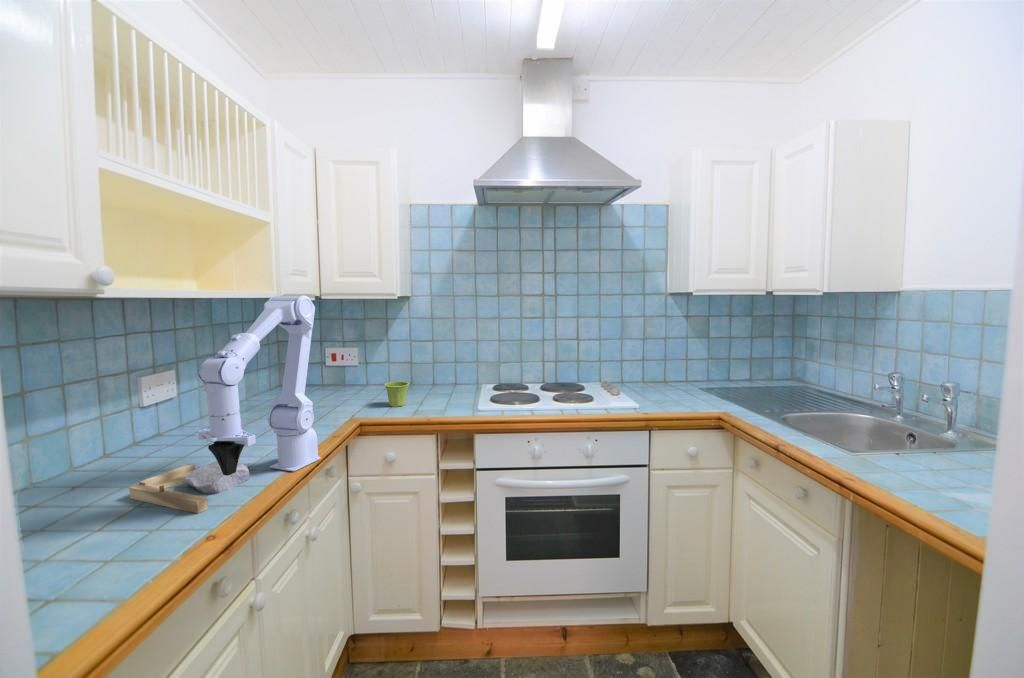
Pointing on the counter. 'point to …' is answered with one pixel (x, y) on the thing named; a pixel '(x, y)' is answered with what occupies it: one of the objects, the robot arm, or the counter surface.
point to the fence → (169, 491)
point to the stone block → (216, 478)
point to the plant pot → (397, 393)
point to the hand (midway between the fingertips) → (229, 473)
